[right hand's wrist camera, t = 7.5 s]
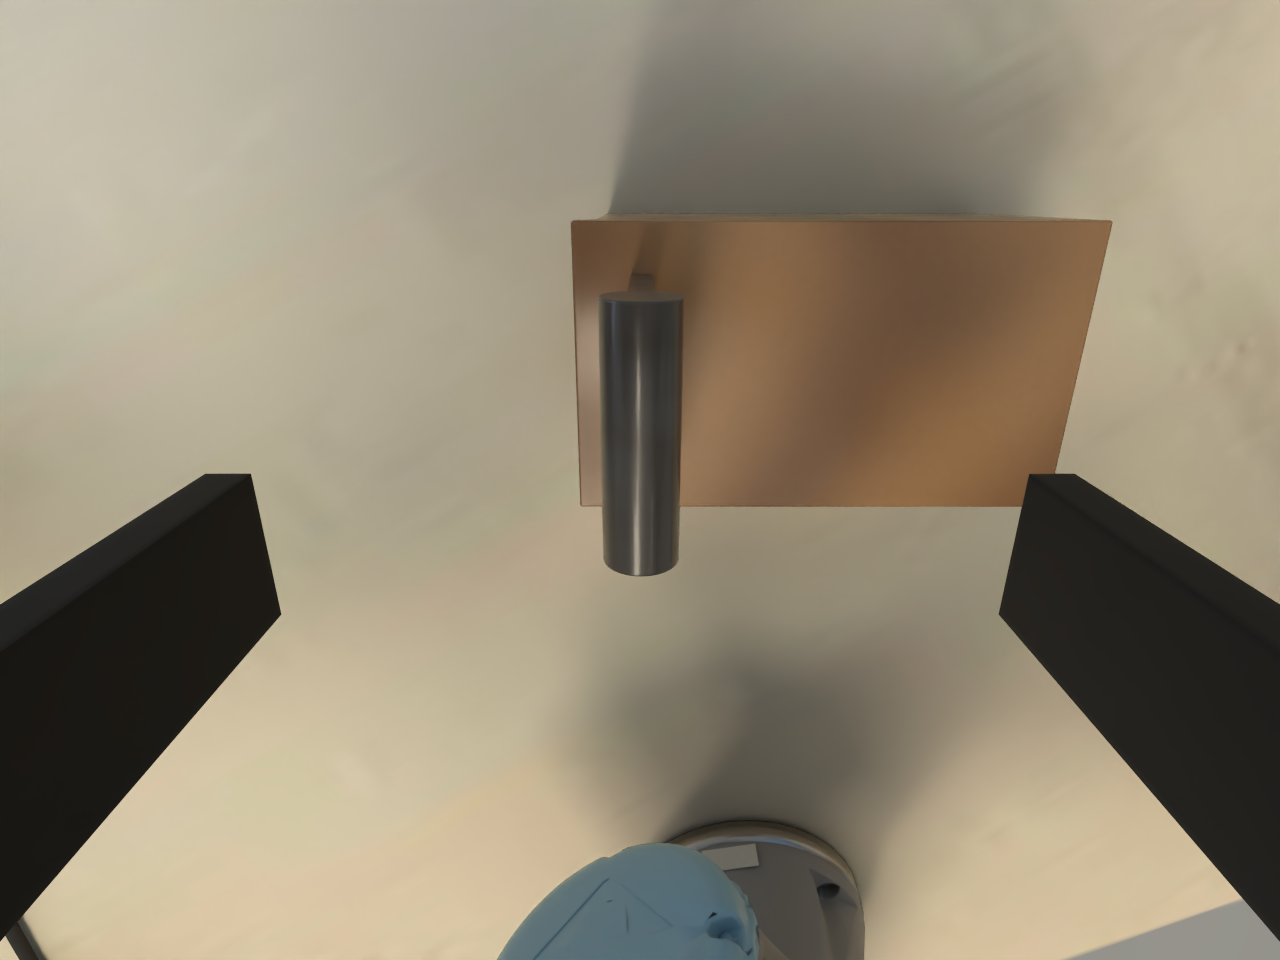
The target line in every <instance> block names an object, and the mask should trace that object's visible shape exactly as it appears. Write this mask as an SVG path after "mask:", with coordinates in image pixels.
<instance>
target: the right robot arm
mask: <svg viewBox="0 0 1280 960" xmlns="http://www.w3.org/2000/svg"><path fill="white" fill-rule="evenodd" d="M280 615H281V611H280V606H279V602H278V597H277V592H276V588H275V583H274V579H273V574H272V569H271V565H270V560H269V555H268V551H267V546H266V542H265V537H264V532H263V528H262V523H261V518H260V514H259V509H258V505H257V500H256V495H255V491H254V486H253V481H252V477H251V474H204V475H203V476H201V477H200V478H198V479H197V480H195V481H193V482H192V483H190V484H189V485H187V486H186V487H184V488H182V489H181V490H179V491H178V492H176V493H175V494H173V495H171V496H170V497H168V498H167V499H165V500H164V501H162V502H160V503H159V504H157V505H156V506H154V507H153V508H151V509H149V510H148V511H146V512H145V513H143V514H142V515H140V516H139V517H137V518H135V519H134V520H132V521H131V522H129V523H128V524H126V525H124V526H123V527H121V528H120V529H118V530H117V531H115V532H113V533H112V534H110V535H109V536H107V537H106V538H104V539H102V540H101V541H99V542H98V543H96V544H95V545H93V546H91V547H90V548H88V549H87V550H85V551H84V552H82V553H80V554H79V555H77V556H76V557H74V558H73V559H71V560H69V561H68V562H66V563H65V564H63V565H62V566H60V567H58V568H57V569H55V570H54V571H52V572H51V573H49V574H47V575H46V576H44V577H43V578H41V579H40V580H38V581H36V582H35V583H33V584H32V585H30V586H29V587H27V588H26V589H24V590H22V591H21V592H19V593H18V594H16V595H15V596H13V597H11V598H10V599H8V600H7V601H5V602H4V603H2V604H0V941H1V940H2V939H3V938H4V936H6V938H7V939H8V941H9V943H10V944H11V946H12V948H13V950H14V951H15V953H16V955H17V956H18V958H19V960H39V959H38V957H37V955H36V954H35V952H34V950H33V949H32V947H31V945H30V943H29V942H28V940H27V938H26V936H25V935H24V933H23V931H22V929H21V928H20V926H19V924H18V922H17V921H18V920H19V919H20V918H21V917H22V915H23V914H24V913H25V912H26V911H27V910H28V908H29V907H30V906H31V905H32V904H33V903H34V902H35V900H36V899H37V898H38V897H39V896H40V895H41V893H42V892H43V891H44V890H45V889H46V888H47V886H48V885H49V884H50V883H51V882H52V881H53V879H54V878H55V877H56V876H57V875H58V874H59V872H60V871H61V870H62V869H63V868H64V867H65V865H66V864H67V863H68V862H69V861H70V860H71V858H72V857H73V856H74V855H75V854H76V853H77V851H78V850H79V849H80V848H81V847H82V846H83V844H84V843H85V842H86V841H87V840H88V839H89V838H90V836H91V835H92V834H93V833H94V832H95V831H96V829H97V828H98V827H99V826H100V825H101V824H102V822H103V821H104V820H105V819H106V818H107V817H108V815H109V814H110V813H111V812H112V811H113V810H114V808H115V807H116V806H117V805H118V804H119V803H120V801H121V800H122V799H123V798H124V797H125V796H126V794H127V793H128V792H129V791H130V790H131V789H132V787H133V786H134V785H135V784H136V783H137V782H138V780H139V779H140V778H141V777H142V776H143V775H144V774H145V772H146V771H147V770H148V769H149V768H150V767H151V765H152V764H153V763H154V762H155V761H156V760H157V758H158V757H159V756H160V755H161V754H162V753H163V751H164V750H165V749H166V748H167V747H168V746H169V744H170V743H171V742H172V741H173V740H174V739H175V737H176V736H177V735H178V734H179V733H180V732H181V730H182V729H183V728H184V727H185V726H186V725H187V723H188V722H189V721H190V720H191V719H192V718H193V716H194V715H195V714H196V713H197V712H198V711H199V710H200V708H201V707H202V706H203V705H204V704H205V703H206V701H207V700H208V699H209V698H210V697H211V696H212V694H213V693H214V692H215V691H216V690H217V689H218V687H219V686H220V685H221V684H222V683H223V682H224V680H225V679H226V678H227V677H228V676H229V675H230V673H231V672H232V671H233V670H234V669H235V668H236V666H237V665H238V664H239V663H240V662H241V661H242V659H243V658H244V657H245V656H246V655H247V654H248V653H249V651H250V650H251V649H252V648H253V647H254V646H255V644H256V643H257V642H258V641H259V640H260V639H261V637H262V636H263V635H264V634H265V633H266V632H267V630H268V629H269V628H270V627H271V626H272V625H273V623H274V622H275V621H276V620H277V619H278V618H279V616H280ZM999 615H1000V616H1001V618H1002V619H1003V620H1004V621H1005V622H1006V623H1007V625H1008V626H1009V627H1010V628H1011V629H1012V630H1013V632H1014V633H1015V634H1016V635H1017V636H1018V637H1019V639H1020V640H1021V641H1022V642H1023V643H1024V644H1025V646H1026V647H1027V648H1028V649H1029V650H1030V651H1031V653H1032V654H1033V655H1034V656H1035V657H1036V658H1037V659H1038V661H1039V662H1040V663H1041V664H1042V665H1043V666H1044V668H1045V669H1046V670H1047V671H1048V672H1049V673H1050V675H1051V676H1052V677H1053V678H1054V679H1055V680H1056V682H1057V683H1058V684H1059V685H1060V686H1061V687H1062V689H1063V690H1064V691H1065V692H1066V693H1067V694H1068V696H1069V697H1070V698H1071V699H1072V700H1073V701H1074V703H1075V704H1076V705H1077V706H1078V707H1079V708H1080V710H1081V711H1082V712H1083V713H1084V714H1085V715H1086V717H1087V718H1088V719H1089V720H1090V721H1091V722H1092V723H1093V725H1094V726H1095V727H1096V728H1097V729H1098V730H1099V732H1100V733H1101V734H1102V735H1103V736H1104V737H1105V739H1106V740H1107V741H1108V742H1109V743H1110V744H1111V746H1112V747H1113V748H1114V749H1115V750H1116V751H1117V753H1118V754H1119V755H1120V756H1121V757H1122V758H1123V760H1124V761H1125V762H1126V763H1127V764H1128V765H1129V767H1130V768H1131V769H1132V770H1133V771H1134V772H1135V774H1136V775H1137V776H1138V777H1139V778H1140V779H1141V780H1142V782H1143V783H1144V784H1145V785H1146V786H1147V787H1148V789H1149V790H1150V791H1151V792H1152V793H1153V794H1154V796H1155V797H1156V798H1157V799H1158V800H1159V801H1160V803H1161V804H1162V805H1163V806H1164V807H1165V808H1166V810H1167V811H1168V812H1169V813H1170V814H1171V815H1172V817H1173V818H1174V819H1175V820H1176V821H1177V822H1178V824H1179V825H1180V826H1181V827H1182V828H1183V829H1184V831H1185V832H1186V833H1187V834H1188V835H1189V836H1190V838H1191V839H1192V840H1193V841H1194V842H1195V843H1196V844H1197V846H1198V847H1199V848H1200V849H1201V850H1202V851H1203V853H1204V854H1205V855H1206V856H1207V857H1208V858H1209V860H1210V861H1211V862H1212V863H1213V864H1214V865H1215V867H1216V868H1217V869H1218V870H1219V871H1220V872H1221V874H1222V875H1223V876H1224V877H1225V878H1226V879H1227V881H1228V882H1229V883H1230V884H1231V885H1232V886H1233V888H1234V889H1235V890H1236V891H1237V892H1238V893H1239V895H1240V896H1241V897H1242V898H1243V899H1244V900H1245V902H1246V903H1247V904H1248V905H1249V906H1250V907H1251V908H1252V910H1253V911H1254V912H1255V913H1256V914H1257V915H1258V917H1259V918H1260V919H1261V920H1262V921H1263V922H1264V924H1265V925H1266V926H1267V927H1268V928H1269V929H1270V931H1271V932H1272V933H1273V934H1274V935H1275V936H1276V938H1277V939H1278V940H1279V941H1280V604H1278V603H1276V602H1275V601H1273V600H1272V599H1270V598H1269V597H1267V596H1265V595H1264V594H1262V593H1261V592H1259V591H1258V590H1256V589H1254V588H1253V587H1251V586H1250V585H1248V584H1247V583H1245V582H1243V581H1242V580H1240V579H1239V578H1237V577H1236V576H1234V575H1233V574H1231V573H1229V572H1228V571H1226V570H1225V569H1223V568H1222V567H1220V566H1218V565H1217V564H1215V563H1214V562H1212V561H1211V560H1209V559H1207V558H1206V557H1204V556H1203V555H1201V554H1200V553H1198V552H1196V551H1195V550H1193V549H1192V548H1190V547H1189V546H1187V545H1185V544H1184V543H1182V542H1181V541H1179V540H1178V539H1176V538H1174V537H1173V536H1171V535H1170V534H1168V533H1167V532H1165V531H1163V530H1162V529H1160V528H1159V527H1157V526H1156V525H1154V524H1152V523H1151V522H1149V521H1148V520H1146V519H1145V518H1143V517H1141V516H1140V515H1138V514H1137V513H1135V512H1134V511H1132V510H1131V509H1129V508H1127V507H1126V506H1124V505H1123V504H1121V503H1120V502H1118V501H1116V500H1115V499H1113V498H1112V497H1110V496H1109V495H1107V494H1105V493H1104V492H1102V491H1101V490H1099V489H1098V488H1096V487H1094V486H1093V485H1091V484H1090V483H1088V482H1087V481H1085V480H1083V479H1082V478H1080V477H1079V476H1077V475H1076V474H1029V477H1028V481H1027V486H1026V491H1025V495H1024V500H1023V505H1022V509H1021V514H1020V518H1019V523H1018V528H1017V532H1016V537H1015V542H1014V546H1013V551H1012V555H1011V560H1010V565H1009V569H1008V574H1007V579H1006V583H1005V588H1004V592H1003V597H1002V602H1001V606H1000V611H999Z"/></svg>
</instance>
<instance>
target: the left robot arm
mask: <svg viewBox="0 0 1280 960" xmlns="http://www.w3.org/2000/svg"><path fill="white" fill-rule="evenodd" d="M864 942H865V925H864V914H863V908H862V903H861V900H860V897H859V894H858V890H857V887H856V884H855V881H854V878H853V875H852V873H851V871H850V869H849V868H848V866H847V865H846V863H845V862H844V860H843V859H842V858H841V857H840V856H839V855H838V853H836V852H835V851H834V850H833V849H832V848H831V847H830V846H828V845H827V844H826V843H824V842H823V841H821V840H819V839H818V838H816V837H814V836H812V835H810V834H808V833H806V832H804V831H801V830H798V829H796V828H793V827H789V826H785V825H781V824H776V823H770V822H761V821H734V822H725V823H719V824H713V825H709V826H705V827H702V828H698V829H696V830H693V831H690V832H687V833H685V834H683V835H681V836H679V837H677V838H675V839H673V840H671V841H669V842H668V843H649V844H641V845H636V846H632V847H628V848H626V849H624V850H622V851H621V852H619V853H617V854H616V855H614V856H612V857H610V858H608V857H602V858H599V859H597V860H596V861H594V862H592V863H590V864H588V865H587V866H585V867H583V868H582V869H580V870H579V871H577V872H576V873H575V874H573V875H572V876H570V877H569V878H567V879H566V880H565V881H564V882H562V883H561V884H560V885H558V886H557V887H556V888H555V889H554V890H553V891H552V892H551V893H550V894H549V895H547V896H546V897H545V898H544V899H543V900H542V901H541V902H540V903H539V904H538V905H537V906H536V907H535V909H534V910H533V911H532V912H531V913H530V914H529V915H528V916H527V918H526V919H525V920H524V921H523V922H522V924H521V925H520V926H519V927H518V929H517V930H516V931H515V933H514V934H513V935H512V937H511V938H510V940H509V941H508V943H507V944H506V946H505V947H504V949H503V951H502V952H501V954H500V955H499V957H498V959H497V960H864Z"/></svg>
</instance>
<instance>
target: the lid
mask: <svg viewBox="0 0 1280 960" xmlns="http://www.w3.org/2000/svg"><path fill="white" fill-rule="evenodd" d="M1111 227H1112V221H1110V220H573V221H571V240H572V270H573V299H574V329H575V359H576V388H577V418H578V447H579V477H580V505H581V506H602V514H603V559H604V562H605V563H606V565H607V566H608V567H609V568H610V569H612V570H614V571H616V572H618V573H621V574H625V575H630V576H652V575H657V574H661V573H664V572H666V571H668V570H670V569H672V568H673V567H674V566H675V565H676V564H677V562H678V559H679V518H680V506H943V507H1022V505H1023V500H1024V495H1025V491H1026V486H1027V481H1028V477H1029V474H1055V470H1056V466H1057V461H1058V457H1059V453H1060V448H1061V444H1062V440H1063V435H1064V431H1065V427H1066V422H1067V418H1068V414H1069V409H1070V405H1071V401H1072V396H1073V392H1074V388H1075V383H1076V379H1077V374H1078V370H1079V366H1080V361H1081V357H1082V353H1083V348H1084V344H1085V340H1086V335H1087V331H1088V327H1089V322H1090V318H1091V314H1092V309H1093V305H1094V301H1095V296H1096V292H1097V288H1098V283H1099V279H1100V275H1101V270H1102V266H1103V262H1104V257H1105V253H1106V249H1107V244H1108V240H1109V235H1110V231H1111Z"/></svg>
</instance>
